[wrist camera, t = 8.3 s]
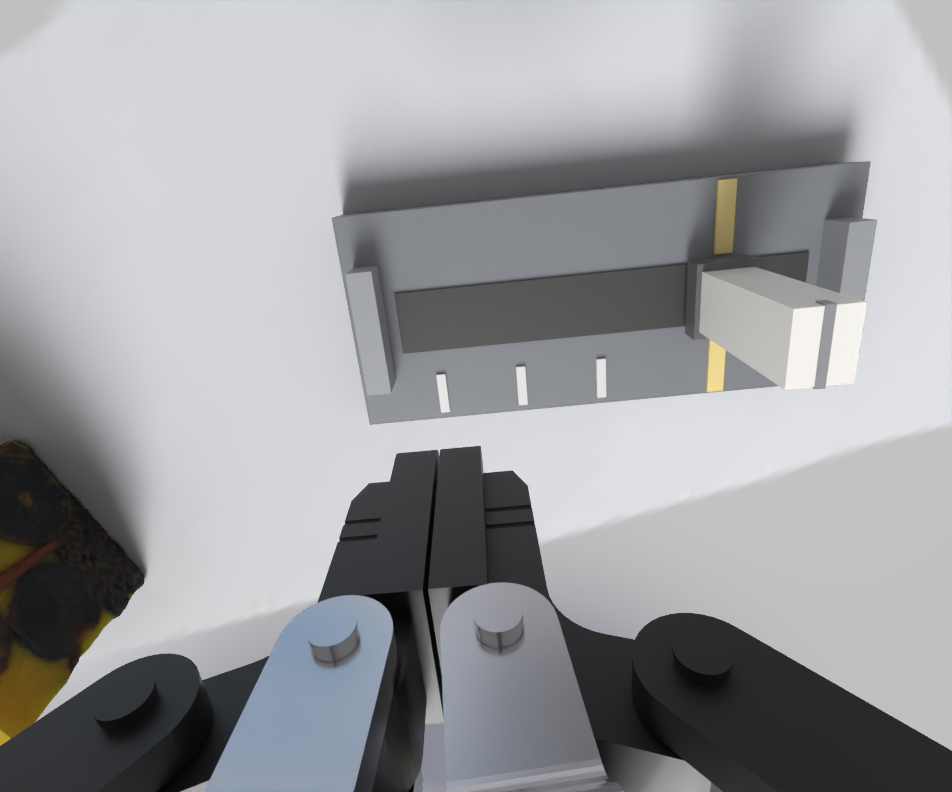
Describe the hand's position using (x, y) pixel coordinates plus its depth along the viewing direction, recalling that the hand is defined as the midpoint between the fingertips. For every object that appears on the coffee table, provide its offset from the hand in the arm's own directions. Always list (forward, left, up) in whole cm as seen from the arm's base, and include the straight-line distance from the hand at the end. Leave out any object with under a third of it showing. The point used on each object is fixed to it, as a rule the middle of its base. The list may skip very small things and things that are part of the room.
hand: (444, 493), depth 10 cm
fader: (0, +11, -14) cm, 17 cm away
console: (0, +6, -16) cm, 17 cm away
